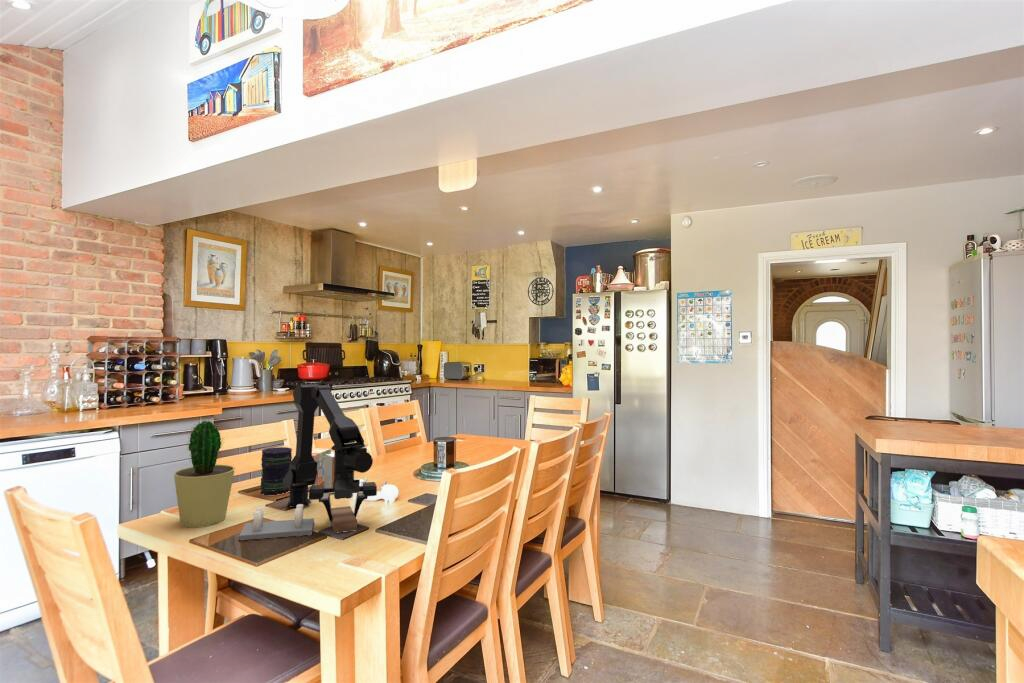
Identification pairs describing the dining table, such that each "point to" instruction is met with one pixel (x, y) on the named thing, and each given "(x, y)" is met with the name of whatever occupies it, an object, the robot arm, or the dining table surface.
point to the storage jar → (275, 470)
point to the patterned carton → (320, 462)
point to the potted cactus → (203, 480)
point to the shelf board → (343, 519)
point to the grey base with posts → (277, 526)
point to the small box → (329, 471)
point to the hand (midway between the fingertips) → (342, 519)
